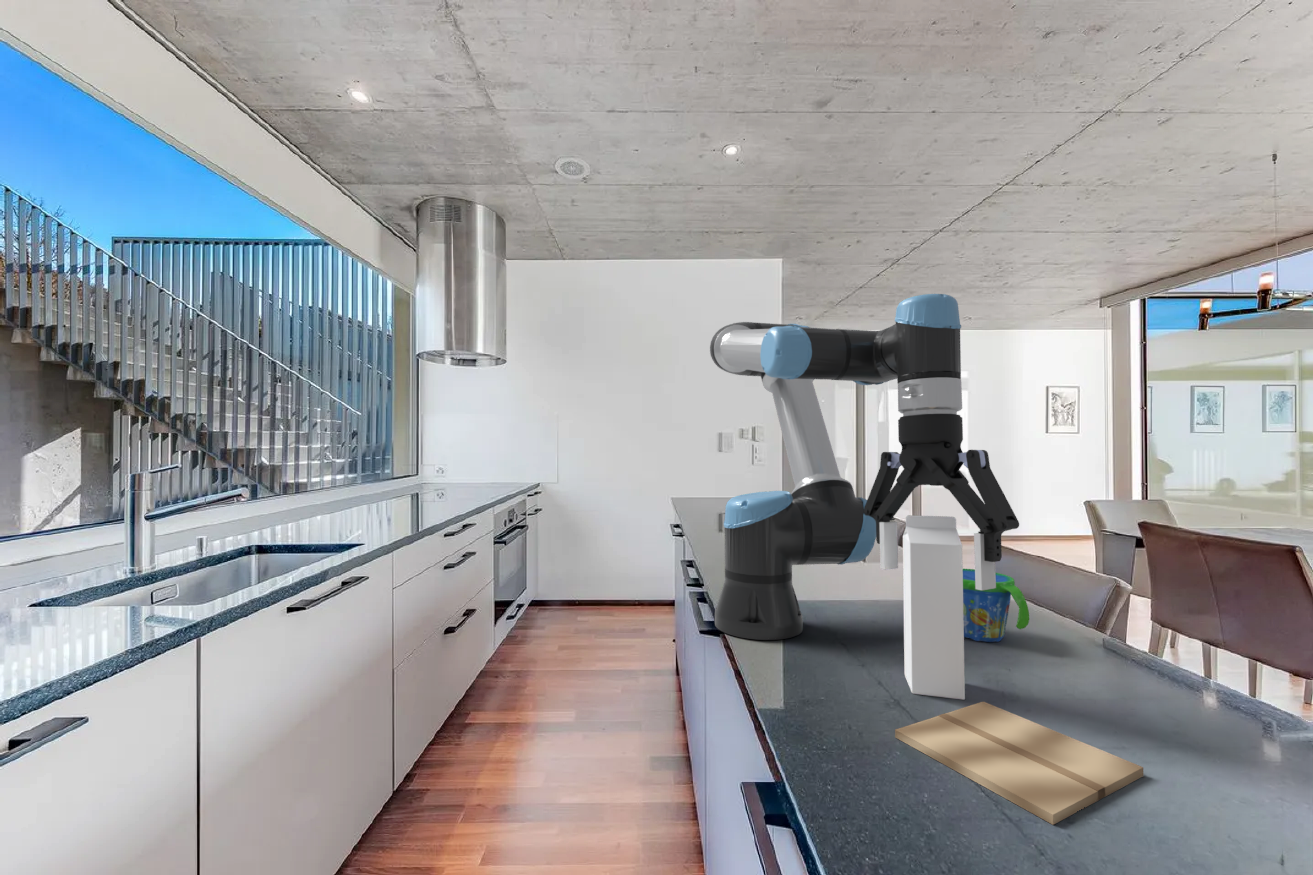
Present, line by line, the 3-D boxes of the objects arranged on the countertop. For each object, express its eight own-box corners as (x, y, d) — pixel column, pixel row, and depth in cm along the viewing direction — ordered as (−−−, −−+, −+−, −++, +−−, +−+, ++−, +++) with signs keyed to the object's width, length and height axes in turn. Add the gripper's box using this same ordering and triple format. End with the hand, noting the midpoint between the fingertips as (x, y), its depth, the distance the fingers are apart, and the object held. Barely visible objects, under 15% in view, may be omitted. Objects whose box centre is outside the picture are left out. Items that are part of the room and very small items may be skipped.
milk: (904, 675, 73) (901, 512, 74) (954, 681, 71) (950, 514, 72) (912, 694, 67) (908, 517, 68) (966, 700, 65) (962, 518, 66)
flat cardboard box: (895, 737, 56) (895, 729, 56) (983, 708, 63) (983, 700, 63) (1053, 824, 43) (1052, 814, 43) (1143, 776, 50) (1143, 766, 50)
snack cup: (1047, 648, 83) (1046, 582, 84) (995, 656, 80) (994, 587, 80) (963, 619, 98) (962, 563, 98) (916, 624, 95) (915, 567, 95)
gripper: (837, 420, 80) (839, 564, 79) (1011, 403, 57) (1017, 603, 56) (872, 422, 83) (875, 560, 82) (1050, 406, 61) (1057, 595, 60)
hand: (933, 578), depth 69 cm, fingers open, 13 cm apart
